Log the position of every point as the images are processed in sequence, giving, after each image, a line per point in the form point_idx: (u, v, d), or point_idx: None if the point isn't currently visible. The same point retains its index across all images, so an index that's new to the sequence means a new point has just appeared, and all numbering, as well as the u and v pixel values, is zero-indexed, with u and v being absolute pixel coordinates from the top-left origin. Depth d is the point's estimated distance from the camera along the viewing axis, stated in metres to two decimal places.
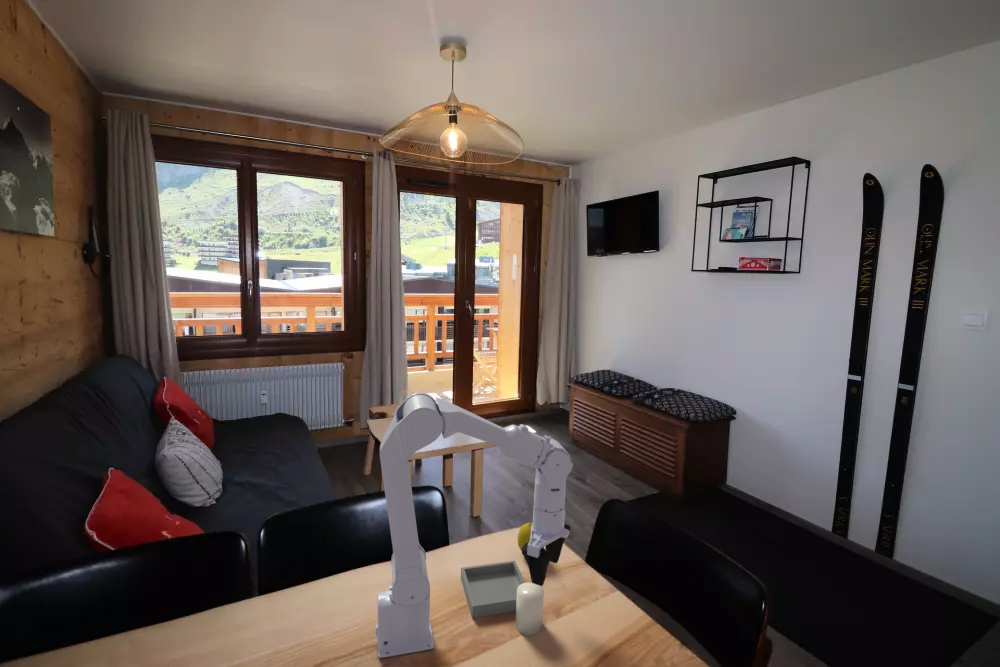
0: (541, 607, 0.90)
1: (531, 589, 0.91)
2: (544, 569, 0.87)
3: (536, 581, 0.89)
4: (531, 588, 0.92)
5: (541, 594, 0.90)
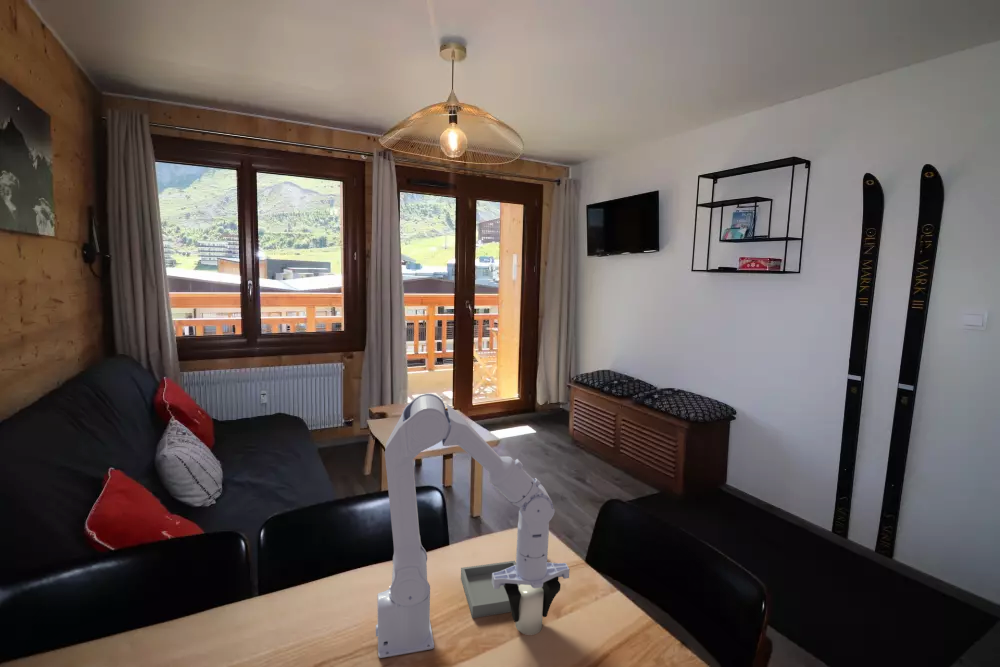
0: (541, 607, 0.90)
1: (531, 589, 0.91)
2: (511, 605, 0.89)
3: (512, 615, 0.91)
4: (531, 588, 0.92)
5: (541, 594, 0.90)
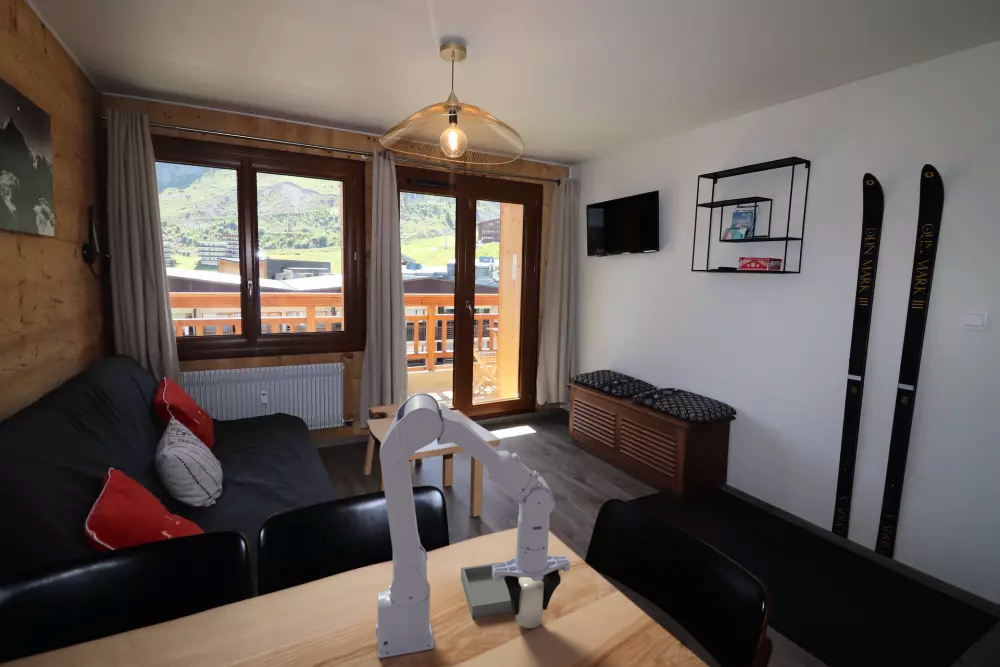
0: (541, 600, 0.90)
1: (531, 582, 0.91)
2: (511, 597, 0.88)
3: (512, 607, 0.91)
4: (531, 581, 0.91)
5: (541, 587, 0.90)
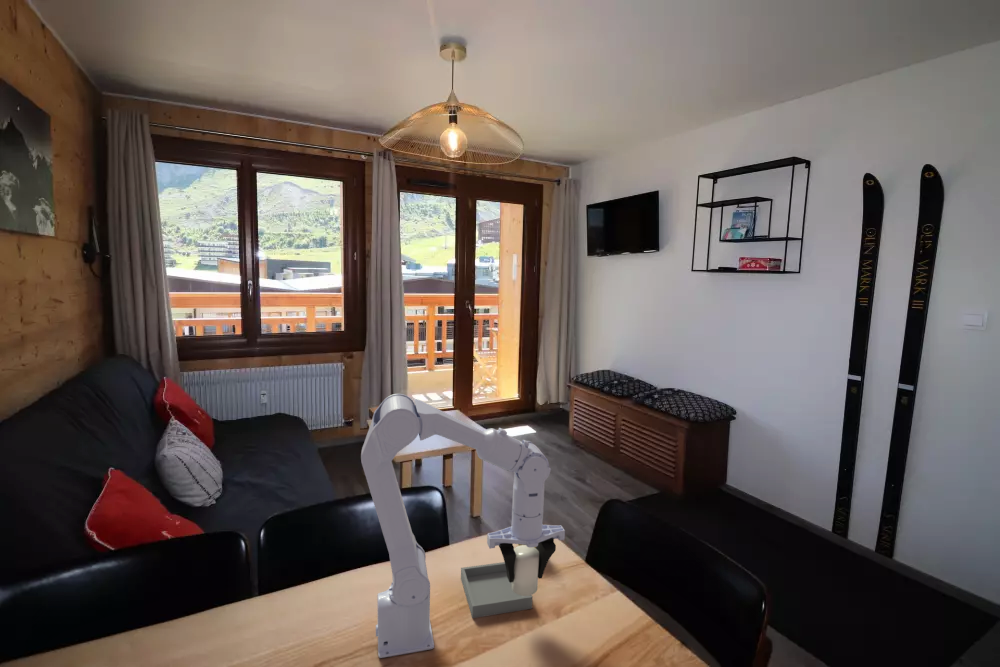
0: (536, 568, 0.90)
1: (527, 551, 0.92)
2: (507, 565, 0.89)
3: (508, 575, 0.91)
4: (527, 550, 0.92)
5: (536, 555, 0.90)
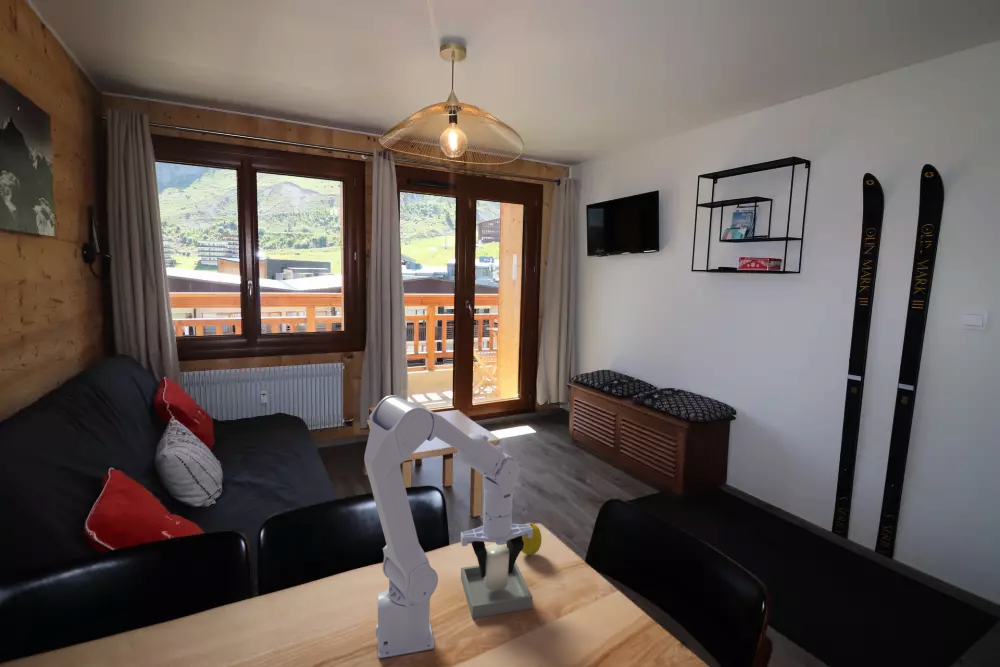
0: (507, 565, 0.98)
1: (498, 549, 0.99)
2: (478, 561, 0.97)
3: (480, 571, 0.99)
4: (498, 548, 0.99)
5: (507, 553, 0.98)
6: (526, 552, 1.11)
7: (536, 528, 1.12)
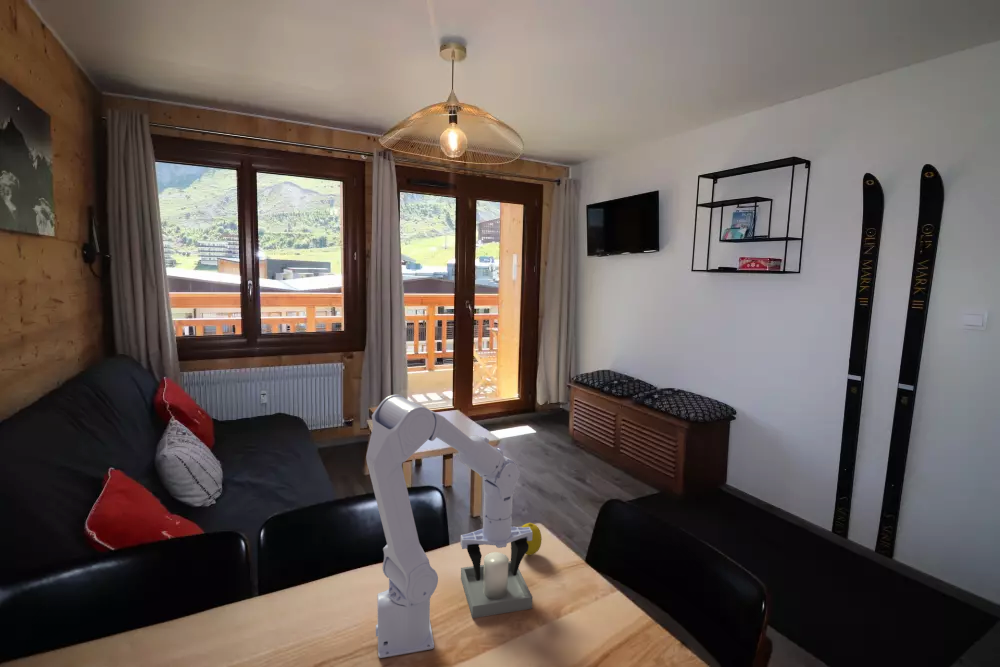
0: (506, 573, 0.98)
1: (497, 558, 1.00)
2: (473, 564, 0.96)
3: (475, 574, 0.99)
4: (497, 557, 1.00)
5: (506, 562, 0.98)
6: (526, 552, 1.11)
7: (536, 528, 1.12)
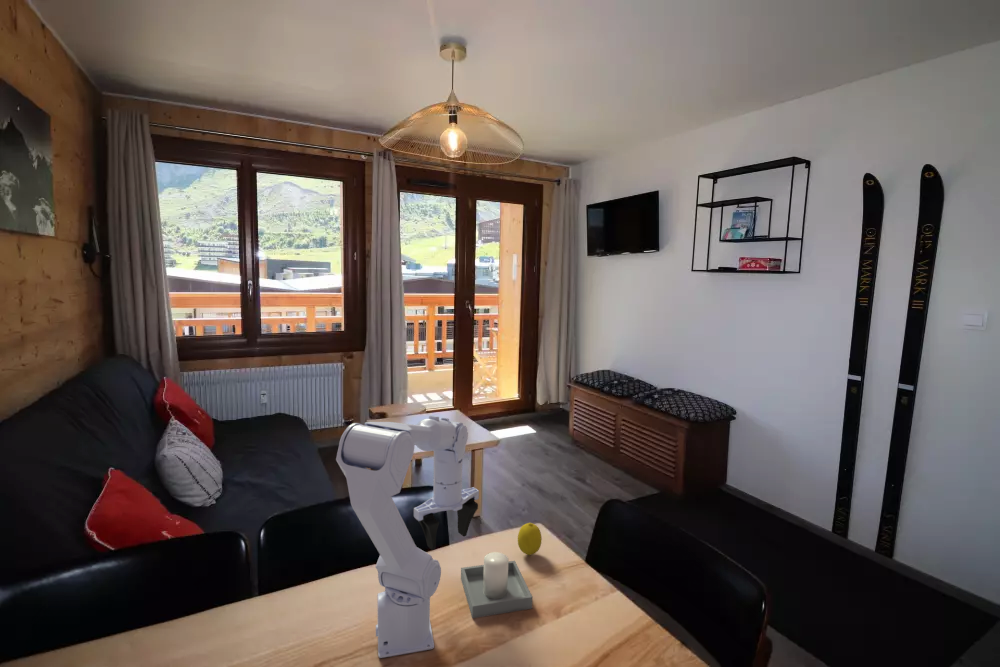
0: (506, 573, 0.98)
1: (497, 558, 1.00)
2: (430, 534, 0.95)
3: (429, 544, 0.98)
4: (497, 557, 1.00)
5: (506, 561, 0.98)
6: (526, 552, 1.11)
7: (536, 528, 1.12)
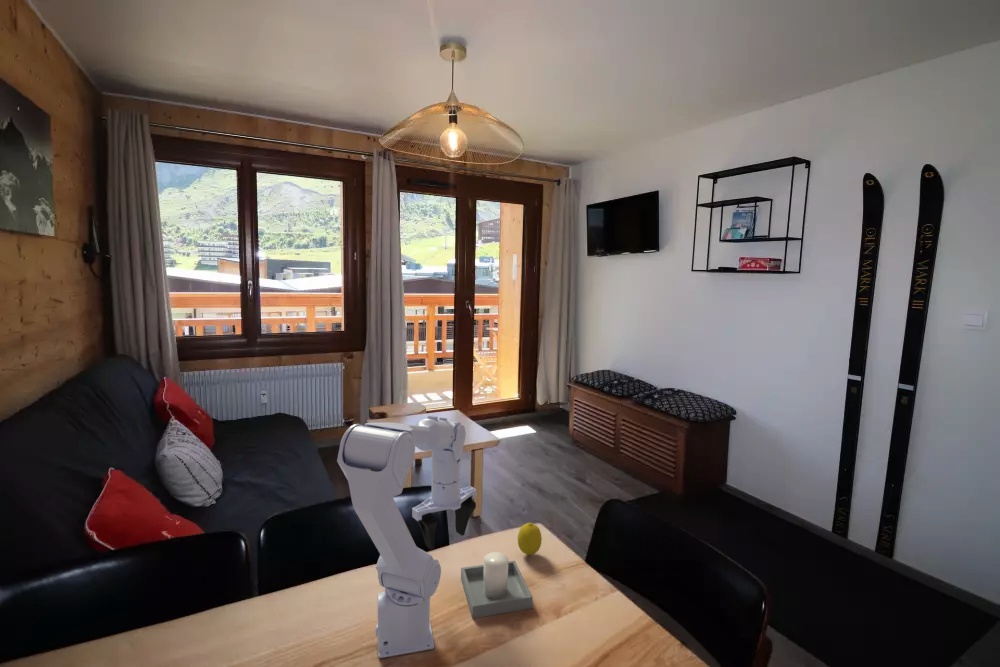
0: (506, 573, 0.98)
1: (497, 558, 1.00)
2: (428, 534, 0.95)
3: (427, 544, 0.98)
4: (497, 557, 1.00)
5: (506, 561, 0.98)
6: (526, 552, 1.11)
7: (536, 528, 1.12)
